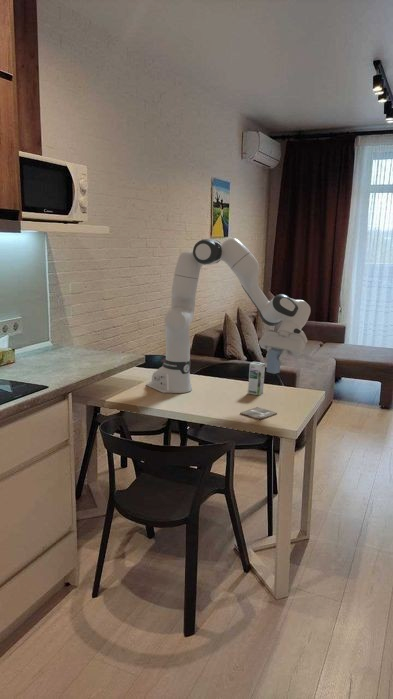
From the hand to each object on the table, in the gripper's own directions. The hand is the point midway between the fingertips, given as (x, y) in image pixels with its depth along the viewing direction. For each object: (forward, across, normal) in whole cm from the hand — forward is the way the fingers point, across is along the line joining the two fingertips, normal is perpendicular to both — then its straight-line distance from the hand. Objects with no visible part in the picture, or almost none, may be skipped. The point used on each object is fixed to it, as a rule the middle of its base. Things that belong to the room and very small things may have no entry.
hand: (273, 358), depth 220 cm
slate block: (+4, 0, +5) cm, 6 cm away
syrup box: (+5, -18, +26) cm, 32 cm away
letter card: (+22, +1, +9) cm, 24 cm away
